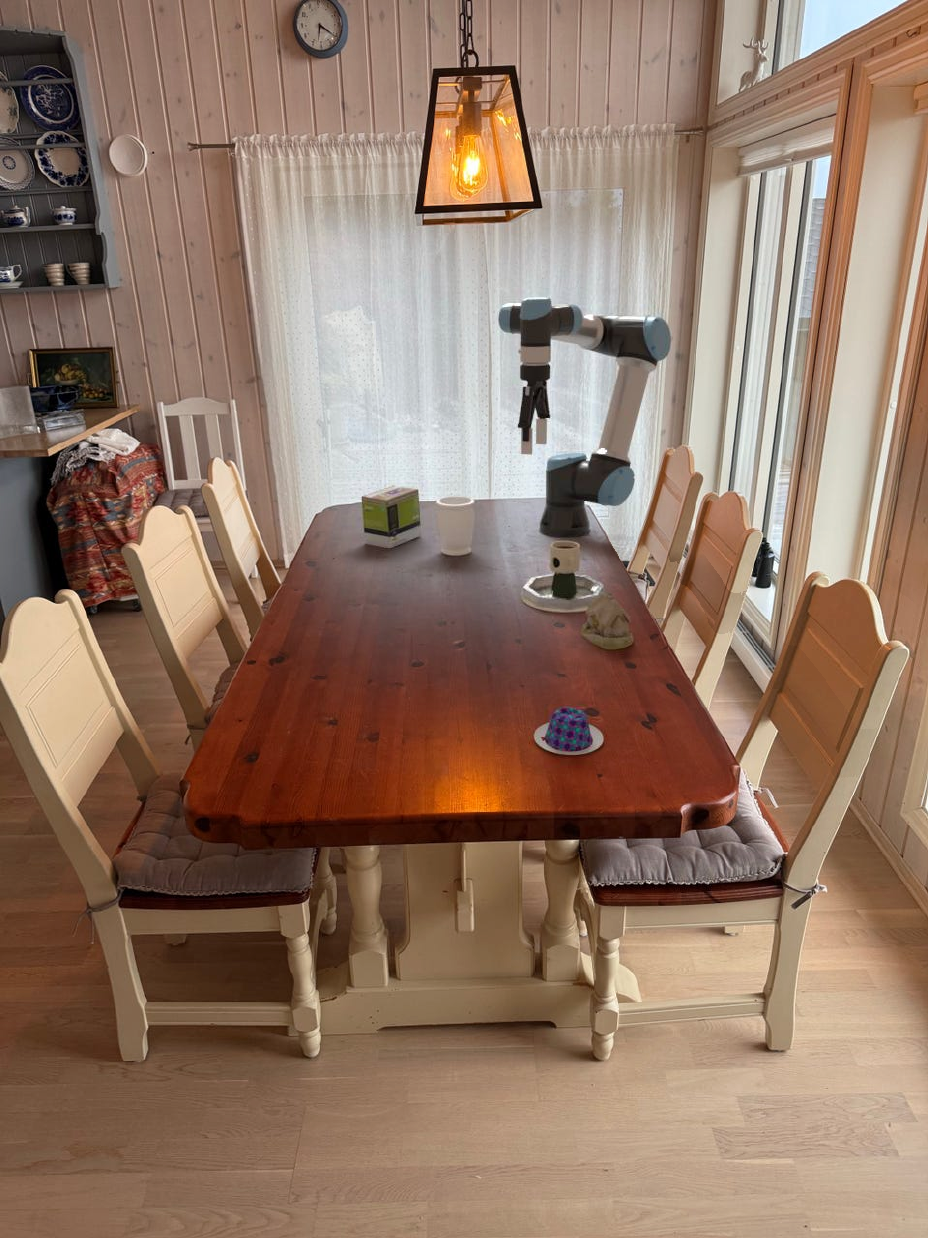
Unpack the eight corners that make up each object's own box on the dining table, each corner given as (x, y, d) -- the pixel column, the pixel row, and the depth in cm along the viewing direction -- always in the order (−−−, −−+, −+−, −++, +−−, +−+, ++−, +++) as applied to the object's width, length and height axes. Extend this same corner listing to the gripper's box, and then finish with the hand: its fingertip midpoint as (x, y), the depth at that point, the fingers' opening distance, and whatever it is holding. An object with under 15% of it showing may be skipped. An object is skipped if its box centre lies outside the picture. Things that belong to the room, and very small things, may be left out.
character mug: (542, 589, 222) (543, 539, 217) (569, 586, 224) (571, 537, 219) (557, 604, 212) (558, 552, 208) (585, 601, 214) (587, 550, 209)
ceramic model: (572, 628, 200) (573, 586, 197) (617, 622, 203) (620, 581, 200) (599, 652, 188) (600, 608, 184) (646, 645, 191) (649, 602, 187)
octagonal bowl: (534, 579, 231) (534, 568, 230) (614, 587, 224) (614, 576, 223) (509, 607, 213) (509, 595, 211) (596, 617, 206) (596, 605, 205)
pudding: (616, 737, 155) (617, 711, 153) (578, 766, 147) (579, 738, 145) (559, 717, 162) (559, 691, 160) (520, 743, 154) (520, 716, 152)
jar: (476, 546, 257) (475, 496, 252) (473, 557, 248) (472, 505, 242) (439, 546, 258) (438, 495, 253) (435, 557, 249) (433, 505, 243)
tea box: (396, 531, 273) (394, 484, 267) (422, 536, 268) (420, 488, 262) (363, 544, 262) (360, 494, 256) (389, 549, 256) (387, 499, 251)
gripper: (534, 357, 233) (533, 438, 241) (505, 368, 211) (505, 457, 219) (562, 358, 231) (560, 440, 239) (536, 369, 209) (534, 459, 217)
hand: (534, 448), depth 229 cm, fingers open, 13 cm apart
